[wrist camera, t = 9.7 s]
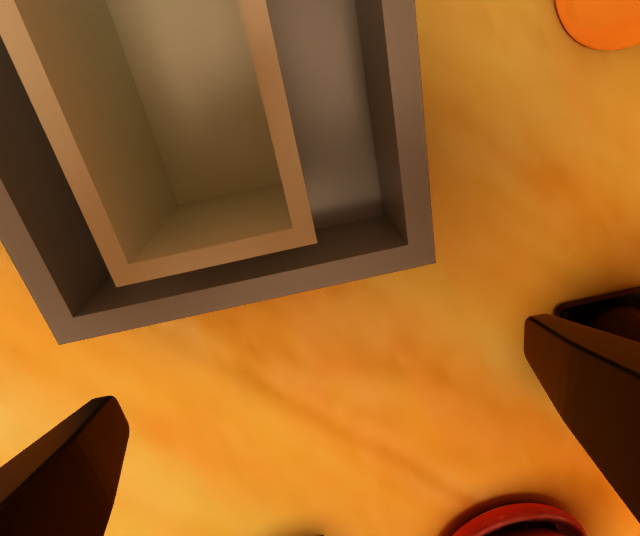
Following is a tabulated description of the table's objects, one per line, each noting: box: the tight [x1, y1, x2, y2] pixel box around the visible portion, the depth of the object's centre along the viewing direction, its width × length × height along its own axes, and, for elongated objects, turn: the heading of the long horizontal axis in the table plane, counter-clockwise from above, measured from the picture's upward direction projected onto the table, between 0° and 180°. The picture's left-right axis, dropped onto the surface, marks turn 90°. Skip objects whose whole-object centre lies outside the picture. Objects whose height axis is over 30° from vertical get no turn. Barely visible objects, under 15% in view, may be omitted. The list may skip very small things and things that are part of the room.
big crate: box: [0, 0, 436, 345], centre depth 15 cm, size 15×16×5 cm
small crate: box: [0, 0, 317, 287], centre depth 13 cm, size 6×10×7 cm, turn 11°
